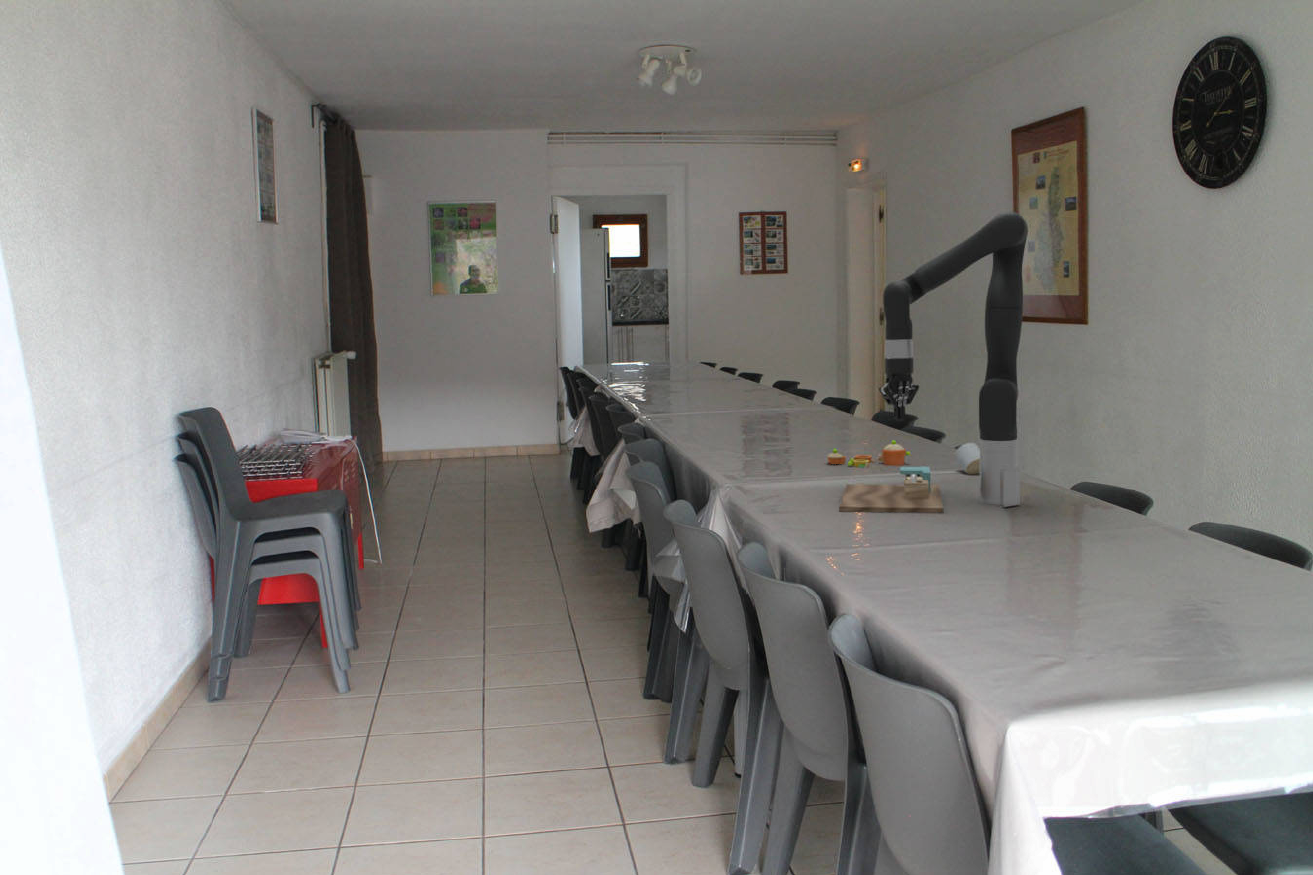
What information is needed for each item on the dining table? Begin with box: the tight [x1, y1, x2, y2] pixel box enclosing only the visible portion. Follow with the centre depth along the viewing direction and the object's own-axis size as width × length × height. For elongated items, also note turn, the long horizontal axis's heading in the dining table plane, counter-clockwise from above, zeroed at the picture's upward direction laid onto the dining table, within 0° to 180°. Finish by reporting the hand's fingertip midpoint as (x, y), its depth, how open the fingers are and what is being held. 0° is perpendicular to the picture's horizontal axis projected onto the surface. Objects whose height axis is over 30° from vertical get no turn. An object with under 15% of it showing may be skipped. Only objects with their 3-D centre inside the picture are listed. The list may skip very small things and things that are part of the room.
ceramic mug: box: [954, 442, 980, 475], centre depth 315 cm, size 11×8×8 cm
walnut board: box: [839, 484, 944, 514], centre depth 277 cm, size 26×36×1 cm
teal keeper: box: [899, 466, 931, 493], centre depth 285 cm, size 8×12×6 cm
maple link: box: [903, 474, 929, 499], centre depth 280 cm, size 18×6×4 cm, turn 170°
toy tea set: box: [827, 439, 911, 468], centre depth 336 cm, size 26×16×10 cm, turn 105°
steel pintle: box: [911, 474, 917, 483], centre depth 274 cm, size 2×2×6 cm
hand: (899, 420), depth 279 cm, fingers closed
